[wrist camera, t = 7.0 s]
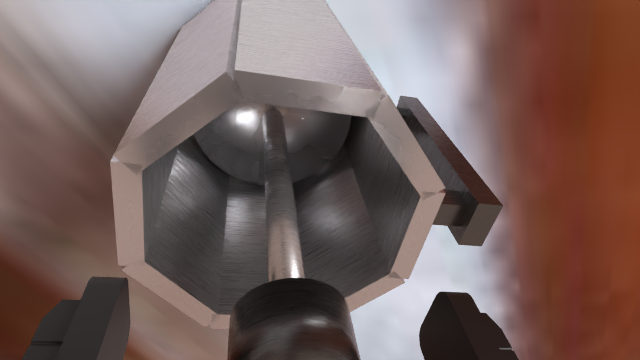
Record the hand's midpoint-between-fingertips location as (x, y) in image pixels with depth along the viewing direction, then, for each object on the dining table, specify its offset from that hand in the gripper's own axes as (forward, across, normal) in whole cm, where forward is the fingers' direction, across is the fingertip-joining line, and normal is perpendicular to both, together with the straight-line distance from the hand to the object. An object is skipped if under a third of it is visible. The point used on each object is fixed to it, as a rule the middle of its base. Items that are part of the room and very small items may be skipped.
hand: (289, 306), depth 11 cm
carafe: (+17, -2, 0) cm, 17 cm away
